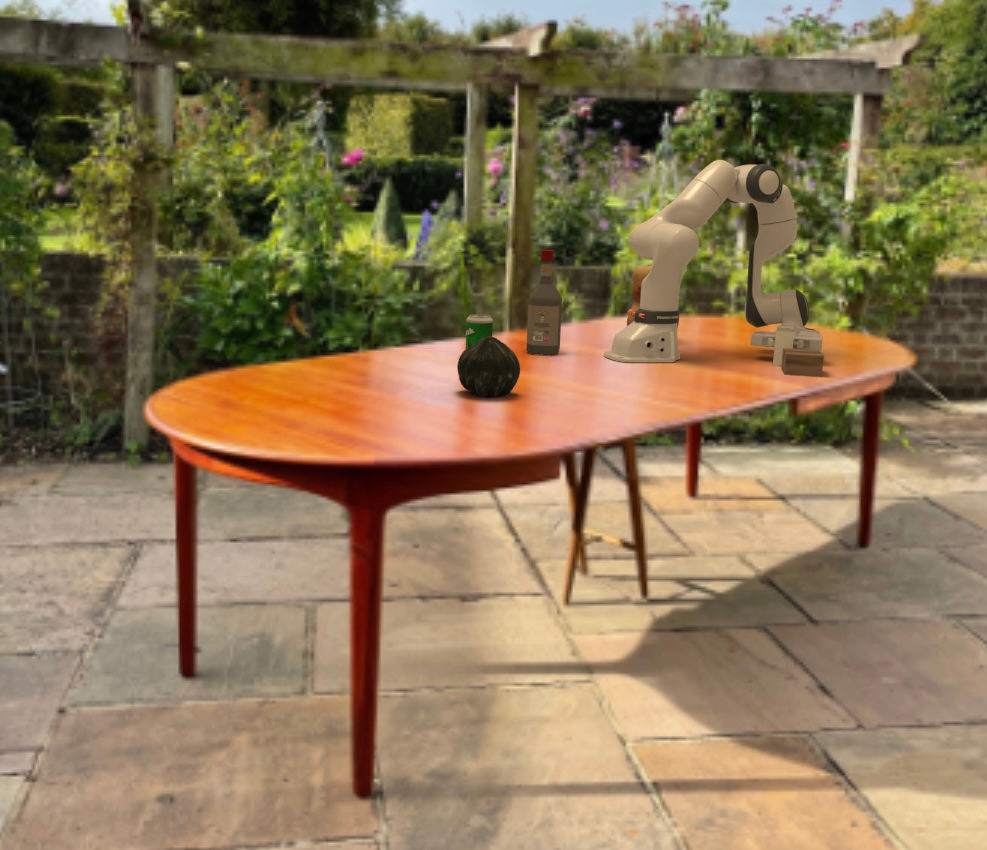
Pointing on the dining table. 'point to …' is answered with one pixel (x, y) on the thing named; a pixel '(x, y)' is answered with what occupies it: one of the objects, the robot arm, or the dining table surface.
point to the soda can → (478, 328)
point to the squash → (488, 368)
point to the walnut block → (802, 362)
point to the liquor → (544, 312)
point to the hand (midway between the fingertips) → (784, 344)
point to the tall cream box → (783, 342)
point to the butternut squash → (638, 287)
